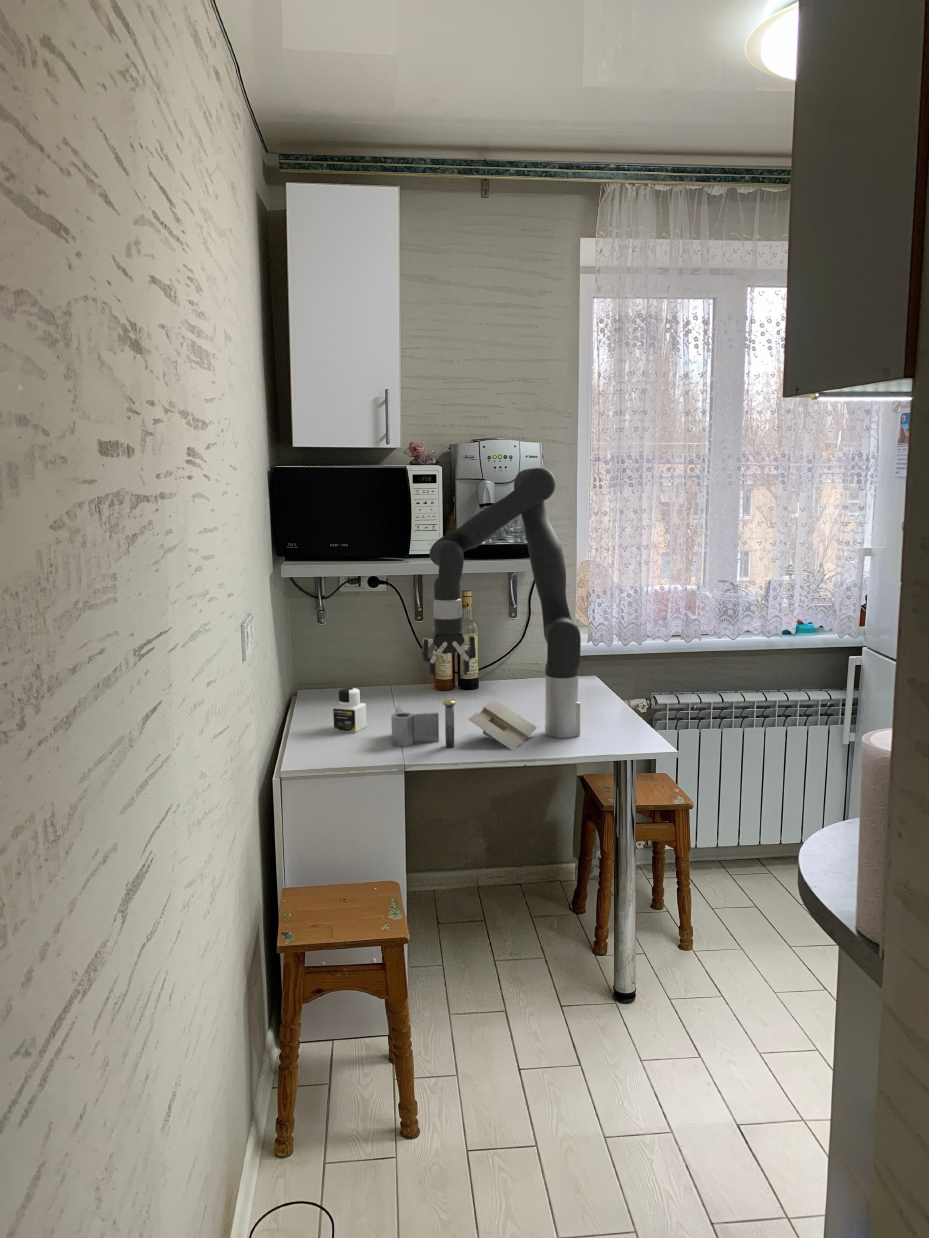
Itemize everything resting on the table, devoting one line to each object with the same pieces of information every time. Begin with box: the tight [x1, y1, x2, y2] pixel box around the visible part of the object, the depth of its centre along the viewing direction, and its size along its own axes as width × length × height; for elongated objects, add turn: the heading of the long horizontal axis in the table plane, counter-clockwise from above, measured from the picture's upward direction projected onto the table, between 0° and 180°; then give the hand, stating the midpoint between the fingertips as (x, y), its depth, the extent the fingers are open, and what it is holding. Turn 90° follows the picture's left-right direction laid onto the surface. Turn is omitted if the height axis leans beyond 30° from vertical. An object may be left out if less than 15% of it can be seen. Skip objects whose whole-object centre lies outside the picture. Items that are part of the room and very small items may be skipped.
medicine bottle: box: [332, 687, 367, 734], centre depth 266 cm, size 7×7×12 cm
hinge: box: [390, 705, 440, 748], centre depth 256 cm, size 13×13×8 cm
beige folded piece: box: [467, 699, 538, 751], centre depth 256 cm, size 16×9×15 cm
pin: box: [442, 698, 457, 749], centre depth 248 cm, size 3×3×13 cm
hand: (449, 675), depth 246 cm, fingers open, 8 cm apart
